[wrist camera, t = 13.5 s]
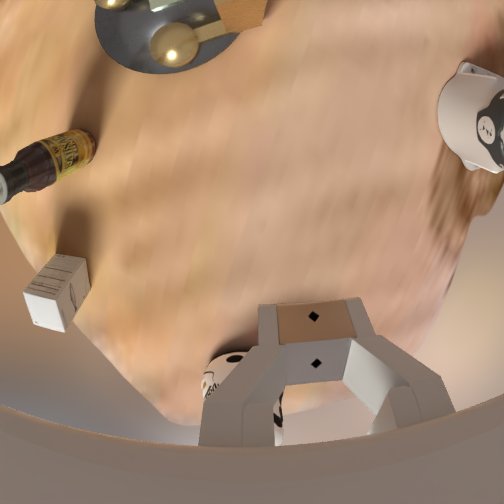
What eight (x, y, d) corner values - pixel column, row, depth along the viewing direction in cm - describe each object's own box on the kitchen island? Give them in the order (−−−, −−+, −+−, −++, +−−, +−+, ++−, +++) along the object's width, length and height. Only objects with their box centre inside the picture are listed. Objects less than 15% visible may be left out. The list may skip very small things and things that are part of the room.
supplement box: (92, 289, 54) (65, 334, 43) (61, 283, 53) (32, 325, 42) (87, 257, 50) (55, 300, 39) (55, 251, 50) (20, 291, 39)
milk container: (189, 355, 63) (177, 428, 47) (264, 334, 60) (268, 412, 44) (226, 396, 71) (223, 460, 55) (292, 379, 68) (300, 447, 52)
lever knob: (252, 1, 30) (254, -45, 16) (266, 39, 32) (278, 10, 19) (150, 37, 32) (98, 17, 18) (164, 74, 35) (117, 70, 21)
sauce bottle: (104, 151, 41) (27, 200, 24) (78, 173, 42) (1, 229, 25) (83, 117, 38) (-4, 149, 21) (57, 141, 39) (-27, 184, 22)
